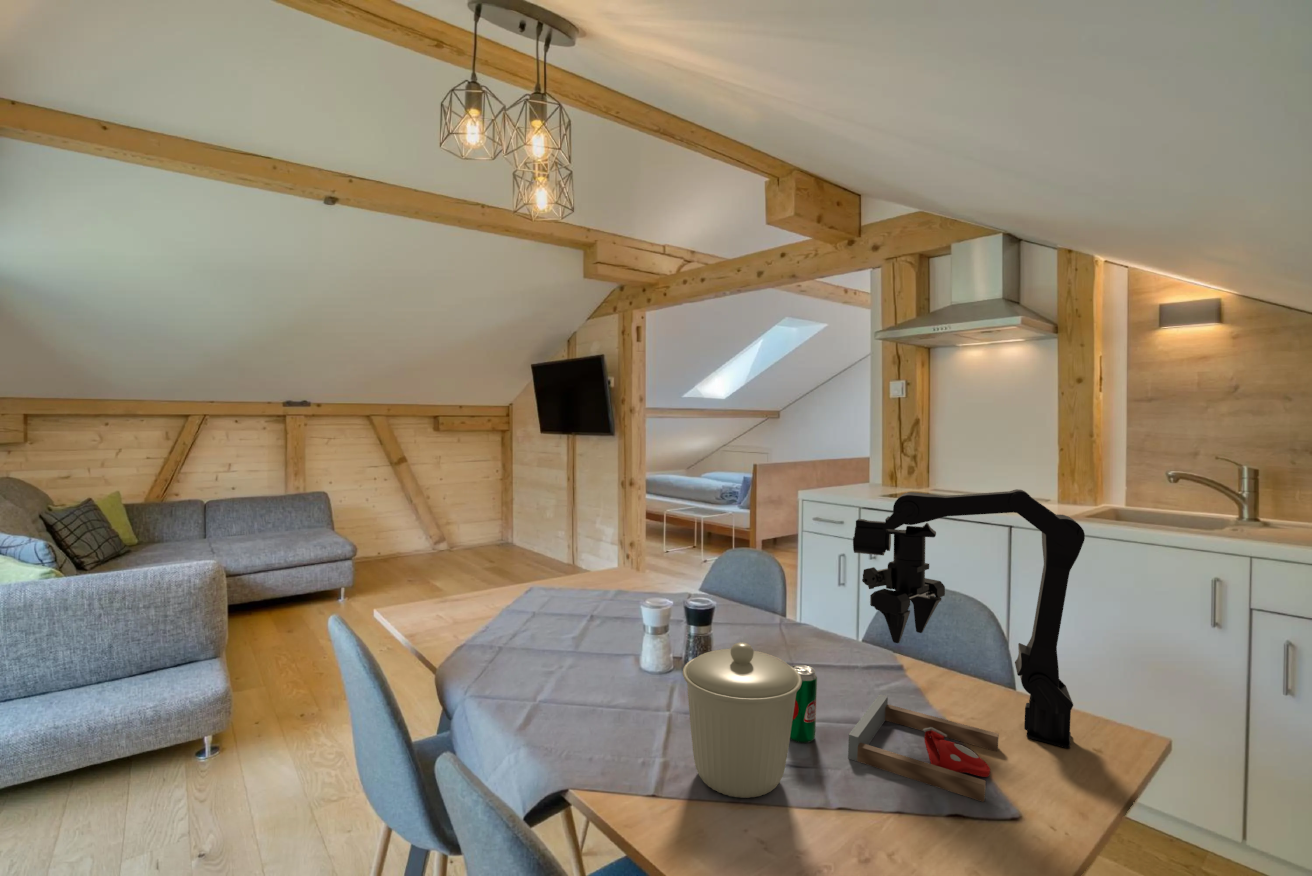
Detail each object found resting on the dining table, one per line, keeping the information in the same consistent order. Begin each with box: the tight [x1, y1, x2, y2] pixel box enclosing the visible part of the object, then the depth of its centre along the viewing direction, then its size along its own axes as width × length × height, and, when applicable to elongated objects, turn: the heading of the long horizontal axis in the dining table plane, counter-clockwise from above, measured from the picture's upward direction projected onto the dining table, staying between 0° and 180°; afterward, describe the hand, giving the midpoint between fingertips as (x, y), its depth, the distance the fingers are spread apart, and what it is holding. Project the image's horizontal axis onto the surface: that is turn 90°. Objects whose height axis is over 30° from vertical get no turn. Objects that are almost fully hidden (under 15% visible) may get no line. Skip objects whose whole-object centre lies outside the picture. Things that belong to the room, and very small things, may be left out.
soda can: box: [790, 664, 818, 744], centre depth 110 cm, size 5×5×12 cm
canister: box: [682, 641, 802, 799], centre depth 97 cm, size 18×18×21 cm
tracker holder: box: [922, 727, 991, 778], centre depth 103 cm, size 12×4×10 cm
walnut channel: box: [856, 704, 1000, 803], centre depth 106 cm, size 18×19×2 cm
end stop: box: [847, 694, 889, 762], centre depth 111 cm, size 2×19×4 cm, turn 146°
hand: (907, 637), depth 123 cm, fingers open, 9 cm apart
